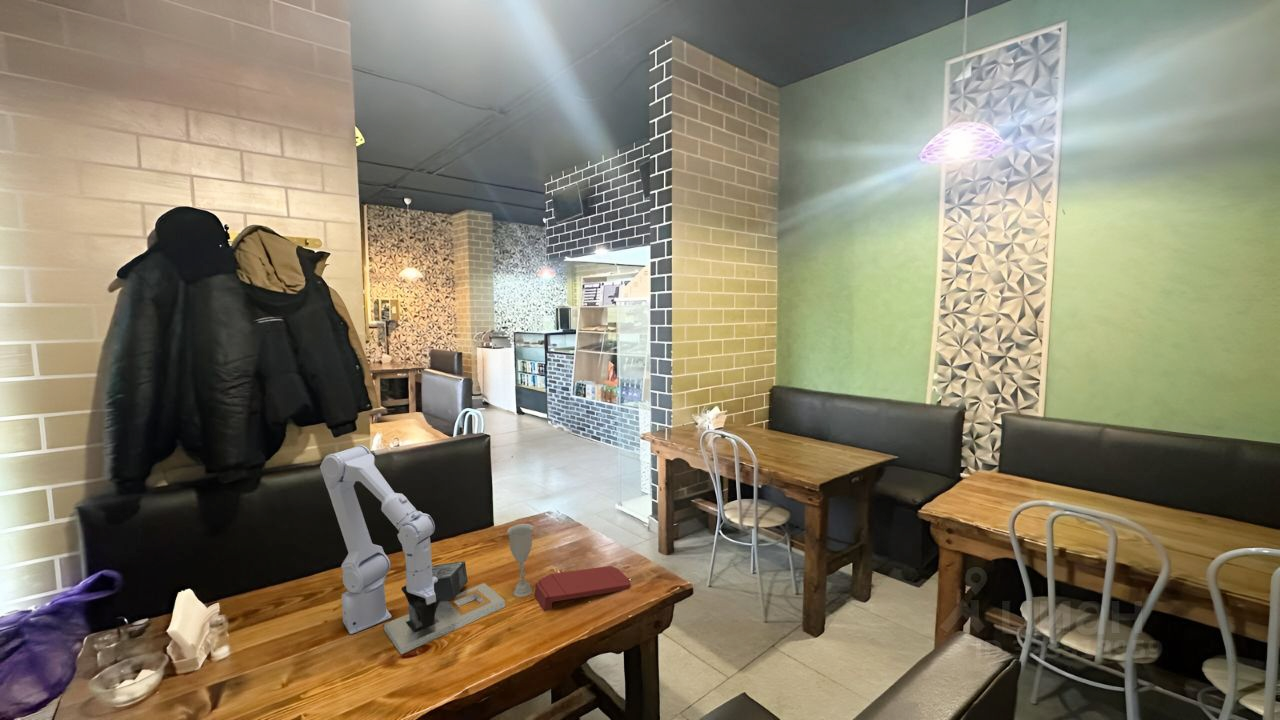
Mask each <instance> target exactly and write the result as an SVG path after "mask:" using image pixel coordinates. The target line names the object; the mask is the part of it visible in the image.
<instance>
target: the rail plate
mask: <svg viewBox="0 0 1280 720" xmlns="http://www.w3.org/2000/svg"><path fill="white" fill-rule="evenodd" d="M475 600H476V601H477V602H478V604H476V605H474V606H471V607H469V608H466V609H465V610H463V608H461V606H463V605H465V604H467V603H471V602H472V601H475ZM504 608H506V599H504V597H501V595H499V594H498V593H497V592H496V591H495V590H493V588H491V587H490V586H488V585H487V584H486V583H484V582H483V583H481V584H478V585H476V586H473V587H471V588H468V589H466V590H463V591H460V592H459V593H458V594H457V595H456V596H455V598H454V599H450V600H443V601H440V602H439V604H438V606H437V609H436V612H435V624H434V625H432V626H430V627H428V628H425V629H422V630H420V631H418V632H416V633H414V632H413V631H412V630H411V629H410V619H409V613H407V614H405V615H402V616H400V617H398V618H395V619H393V620H391V621H388V622H386V623H384V625H383V629H384V633H385V634H386V635H387V637H388V638H389V640H390V641H391V642H392V645H394V646H395V648H396V650H397V651H398V653H399V654H400V655H403V654H405V653H408V652H410V651H413V650H414V649H417V648H418V647H421V646H423V645H426V644H427V643H429V642H432V641H434V640H436V639H438V638H440V637H442V636H445V635H447V634H449V633H451V632H454V631H456V630H458V629H460V628H462V627H464V626H467V625H469V624H470V623H473V622H475V621H478V620H480V619H481V618H484V617H486V616H488V615H490V614H493V613H495V612H496V611H497V612H498V611H499V610H501V609H504Z"/></svg>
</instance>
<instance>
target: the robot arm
mask: <svg viewBox="0 0 1280 720" xmlns="http://www.w3.org/2000/svg"><path fill="white" fill-rule="evenodd" d="M375 461H376V458H375V455H374V454H372V452H371V451H370V449H369V448H368V447H367V446H365V445H363V444H359V445H356V446H354V447H351V448H348V449H345V450H342V451H339V452H335V453H330V454H327V455H325V457H324V458H323V459H322V461H321V464H320V466H319V468H320V472H321V475H322V477H323V480H324V483H325V487H326V489H327V492H328V495H329V498H330V500H331V504H332V507H333V510H334V512H335V516H336V519H337V522H338V525H339V528H340V531H341V534H342V537H343V540H344V543H345V547H346V549H347V552H348V554H347V555H346V557H345V559H344V560H343V562H342V563H341V566H340V567H341V571H342V583H343V585H344V588H345V589H347V591H345V592H343V593H342V594H341V608H342V609H341V610H342V623H343V624H344V626H345V628H346V630H347V632H348V633H349V634H350V635H353V634H355V633H358V632H360V631H363V630H366V629H369V628H370V627H373V626H375V625H378V624H380V623H381V624H382V623H383V622H386V621H387V620H390V619H392V614H391V613H390V611H389V610H388V609H387V604H386V603H387V602H386V587H385V581H386V580H387V574H388V573H390V570H391V560H390V559H389V557H388V556H387V554H386V553H385V552H384V551H385V550H384V549H383V546H381V545H378V544H374V543H373V542H372V539H371V536H370V533H369V530H368V527H367V524H366V521H365V518H364V514H363V511H362V508H361V505H360V503H359V499H358V497H357V494H356V493H357V492H356V490H355V487H354V486H355V483H356V482H359V483H361V484H362V485H363V486H364V487H365V488H366V489H368V491H370V493H372V494H373V495H374V497H376V499H378V500H379V502H381V508H380V510H381V512H382V513H383V514H384V516H386V517H387V519H388V520H389V521H390V523H392V524H393V526H395V528H396V530H397V531H398V533H397V534H396V535H397V538H398V541H399V542H400V544H401V546H402V547H401V548H402V551H403V553H404V558H405V559H404V560H405V582H406V585H403V586H402V587H401V591H402V593H403V594H404V597H405V598H406V600H407V603H408V602H410V601H413V600H415V599H418V598H420V597H423V600H420V601H417V602H415V603H414V605H415V606H416V607H417V609H418V611H419V614H420V617H421V622H422V626H423V628H424V629H425V628H428V627H430V626H432V625H433V622H434V617H435V612H436V609H437V606H438V604H439V602H440V601H441V597H440V596H439V595H436V594H435V593H434V583H436V582H437V581H438V579H437V578H436V577H432V566H433V564H432V563H433V562H432V547H431V545H432V544H431V537H430V536H432V535H433V534H434V533H435V529H436V525H435V522H434V520H433V518H432V517H431V515H430V514H428V513H423V512H422V511H420V510H417V509H416V507H415V506H414V505H413V504H412V503H411V502H410V501H409V499H408V498H407V496H405V495H404V494H403V493H401V492H400V493H399V492H395V491H394V490H393V488H392V487H391V486H390V484H389V483H388V481H386V479H385V477H384V476H383V475H382V473H381V472H380V471H379V469H378V468H377V467H376V465H375Z"/></svg>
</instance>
